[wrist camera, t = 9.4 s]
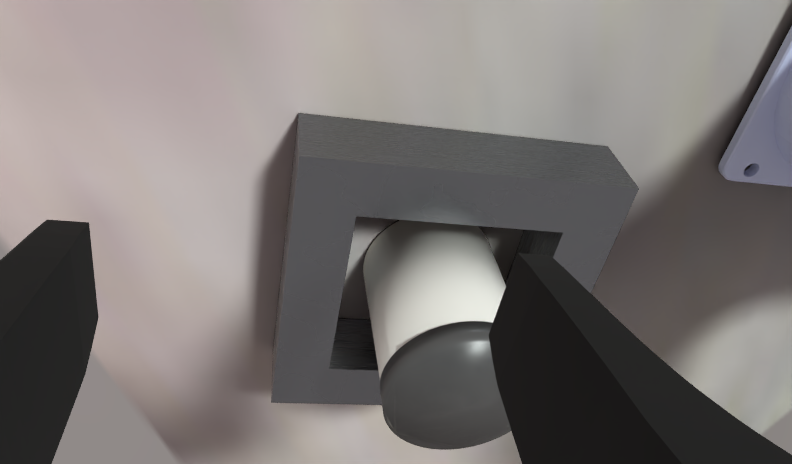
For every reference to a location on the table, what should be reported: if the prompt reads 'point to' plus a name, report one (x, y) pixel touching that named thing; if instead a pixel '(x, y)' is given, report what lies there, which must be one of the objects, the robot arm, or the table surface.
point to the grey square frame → (428, 202)
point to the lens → (436, 332)
